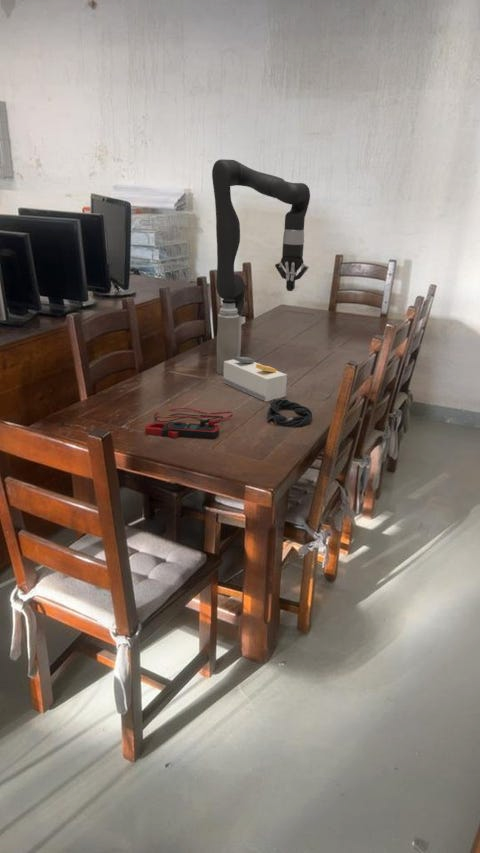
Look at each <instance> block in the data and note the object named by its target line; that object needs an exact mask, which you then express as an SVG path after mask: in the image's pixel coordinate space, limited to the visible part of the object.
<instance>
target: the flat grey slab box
mask: <svg viewBox="0 0 480 853" xmlns="http://www.w3.org/2000/svg"><path fill="white" fill-rule="evenodd" d="M234 360H236V361H239V362H243V363H245V364H248V363H254V362H255V359H253V358H251V357H248V356H239V357H237V356H235V358H234Z"/></svg>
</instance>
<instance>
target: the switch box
mask: <svg viewBox="0 0 480 853" xmlns="http://www.w3.org/2000/svg"><path fill="white" fill-rule="evenodd" d="M256 364H259V365H262V364H261V363H259V362H256V361H254V363H248V364H245V363H243V362H239V361H236V360H234V359H233V360H228V361H224V375H223V380H222V381H223V383H224V384H226V385H229V387H230V386H231V387H232V388H235V389H237V390H240V391H241V392H244V393H246V394H249V395H250V396H252V397H254V398H257V399H260V400H261V401H264V402H269V401H270V402H271V401H273V399H275V400H279V399H283V398H285V397H286V395H287V394H286V393H287V380H288V379H287V377H288V374H286V373H283V372H281V371H280V370H279V371H278V370H276V372H270V373H268V372H265V371H263V370H261V369H258V368H256Z"/></svg>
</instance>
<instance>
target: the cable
mask: <svg viewBox="0 0 480 853" xmlns="http://www.w3.org/2000/svg"><path fill="white" fill-rule="evenodd" d="M269 405H270V407H269V408H268V411H267V414H266V418H267V421H272V422H273V423H275V424H276V423H279V424H281V425H283V426H285V427H289V428H297V427H300V426H303V427H304V426H306V425H307V426H308V424H309V423H311V420H312V417H313V413H312V411H311V409H310V408H308V407H306V406H303V405H301V404H300V403H297V402H294V401H293V402H292V401H290V400H289V399H285V398H284V399H282V398H279V399H273V400H272V402H271V401H270V402H269ZM278 409H285V410H293V411H294V412H295V413H296V414H297V413H298V414H299V413H300V414H302V415H297V416H292V417H291V418H287V417H286V416H285V415H282V414H281V413H280V412H279V411H278Z"/></svg>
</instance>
